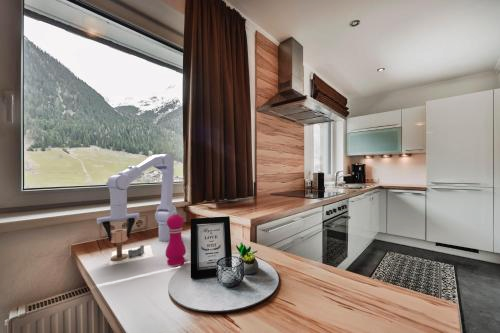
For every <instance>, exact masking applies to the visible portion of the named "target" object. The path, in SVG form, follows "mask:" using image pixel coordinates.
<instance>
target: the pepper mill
mask: <svg viewBox="0 0 500 333" xmlns="http://www.w3.org/2000/svg"><path fill="white" fill-rule="evenodd" d="M167 225H168V227H169V229H168V230H169V231H168V232H169V233H170V240H169V241H168V243H167V244H168V245H167V246H166V248H165V249H166V250H165V257H166V259H167V260H166V262H167V265H168V266H173V268H178V267H180V266H183V265H184V264H185V255H186V251H187V250H186V247H185V246H186V245H185V244H184V241H183V239H182V232H183V227H182V226H183V225H184V218H183V216H182V215H180V214H178V211H177V210H176V211H174V212H173V215H172V216H170V217H169V218H168V220H167Z"/></svg>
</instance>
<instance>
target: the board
mask: <svg viewBox="0 0 500 333" xmlns="http://www.w3.org/2000/svg"><path fill="white" fill-rule="evenodd" d="M138 248H140V246H139V247H132V248H127V249H126V248H125V249H122V254H128V250H136V249H138ZM115 255H117V250H114V251H112V252H111V257H112V256H115ZM111 257H110V258H111ZM148 258H154V254H153V250H152V246H151V245H150V244H149V245H144V253H142V255H141V256H136V257H132V258H128V257H127V258H126V259H124V260H120V261H111V259H110V261H109V266H113V265H117V264H125V263H129V262H134V261H140V260H144V259H148Z"/></svg>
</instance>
